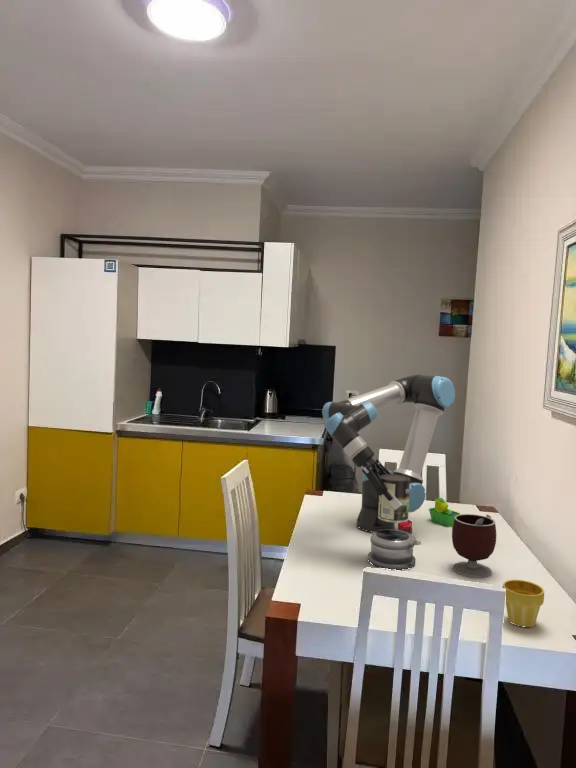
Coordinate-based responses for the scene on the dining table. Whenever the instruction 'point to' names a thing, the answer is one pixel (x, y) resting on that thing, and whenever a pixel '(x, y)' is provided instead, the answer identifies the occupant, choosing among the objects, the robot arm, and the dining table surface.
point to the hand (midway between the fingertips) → (402, 503)
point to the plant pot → (523, 601)
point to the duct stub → (392, 549)
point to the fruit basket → (442, 513)
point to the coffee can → (401, 491)
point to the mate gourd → (473, 543)
